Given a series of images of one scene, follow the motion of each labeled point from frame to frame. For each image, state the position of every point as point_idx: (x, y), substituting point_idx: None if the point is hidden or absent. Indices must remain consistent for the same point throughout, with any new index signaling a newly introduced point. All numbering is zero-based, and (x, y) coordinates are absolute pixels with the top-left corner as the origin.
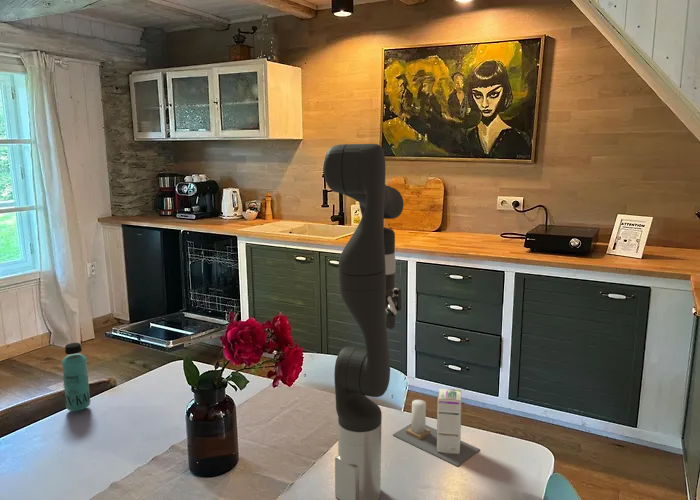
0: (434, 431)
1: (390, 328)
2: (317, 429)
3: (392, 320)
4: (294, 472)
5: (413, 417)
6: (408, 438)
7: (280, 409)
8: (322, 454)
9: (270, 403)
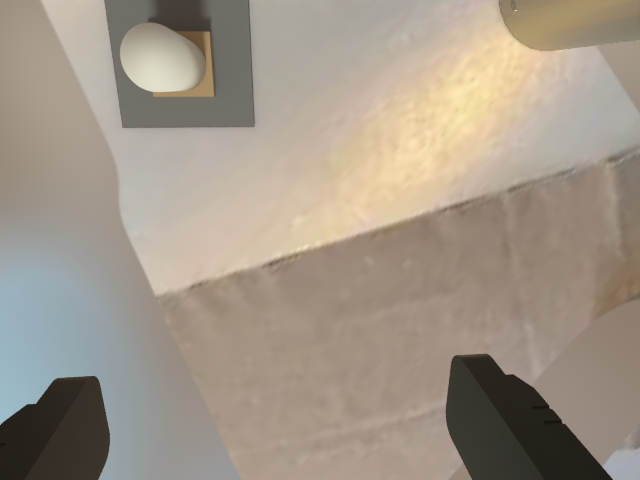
0: (124, 28)
1: (101, 396)
2: (386, 304)
3: (40, 460)
4: (573, 191)
5: (196, 67)
6: (233, 69)
7: (378, 436)
8: (470, 202)
9: (374, 472)
